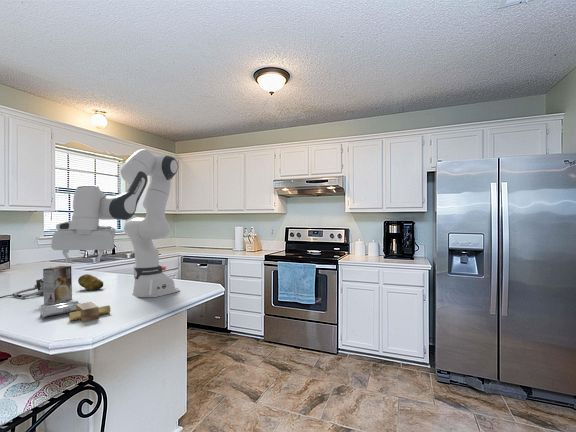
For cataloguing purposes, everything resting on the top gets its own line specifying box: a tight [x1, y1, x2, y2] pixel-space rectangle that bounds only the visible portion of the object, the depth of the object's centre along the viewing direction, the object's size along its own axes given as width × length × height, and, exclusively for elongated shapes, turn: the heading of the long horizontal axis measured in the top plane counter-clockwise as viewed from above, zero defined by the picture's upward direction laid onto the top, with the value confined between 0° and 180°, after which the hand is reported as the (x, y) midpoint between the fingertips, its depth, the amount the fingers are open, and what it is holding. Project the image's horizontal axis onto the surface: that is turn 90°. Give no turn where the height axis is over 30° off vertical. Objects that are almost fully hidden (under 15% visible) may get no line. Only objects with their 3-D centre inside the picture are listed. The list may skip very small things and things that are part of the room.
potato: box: [77, 274, 104, 291], centre depth 169 cm, size 8×13×8 cm, turn 64°
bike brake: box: [0, 277, 44, 300], centre depth 156 cm, size 14×7×20 cm
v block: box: [39, 300, 81, 321], centre depth 121 cm, size 12×7×5 cm, turn 136°
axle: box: [68, 305, 111, 322], centre depth 118 cm, size 13×3×3 cm, turn 136°
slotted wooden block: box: [76, 301, 100, 323], centre depth 117 cm, size 5×10×6 cm, turn 46°
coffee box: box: [42, 265, 73, 305], centre depth 145 cm, size 9×6×16 cm
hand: (82, 262), depth 118 cm, fingers open, 8 cm apart
